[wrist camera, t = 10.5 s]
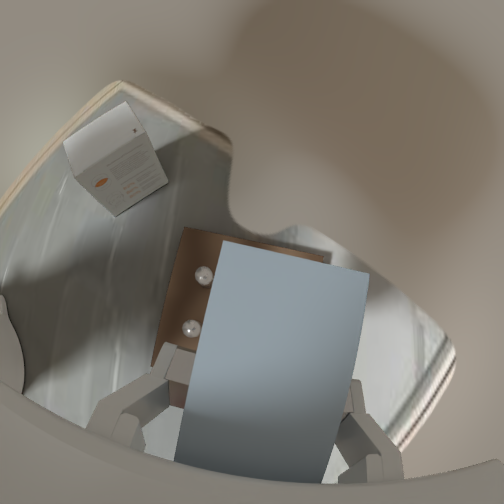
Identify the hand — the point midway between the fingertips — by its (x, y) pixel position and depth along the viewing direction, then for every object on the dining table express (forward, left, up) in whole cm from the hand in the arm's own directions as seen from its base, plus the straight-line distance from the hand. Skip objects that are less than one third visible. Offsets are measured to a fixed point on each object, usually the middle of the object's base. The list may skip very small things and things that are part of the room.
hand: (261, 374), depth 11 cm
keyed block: (0, 0, -7) cm, 7 cm away
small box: (-18, +15, -20) cm, 31 cm away
